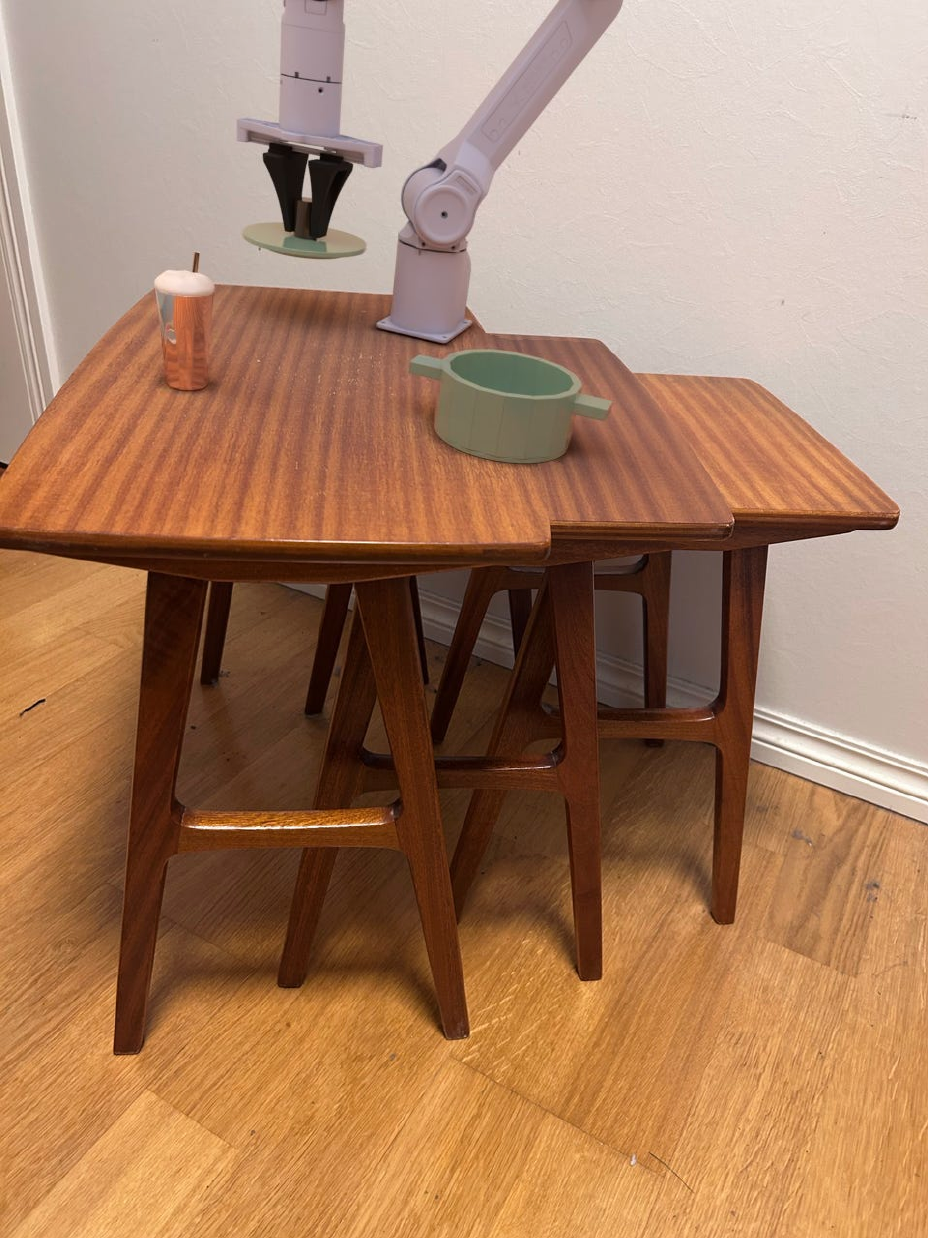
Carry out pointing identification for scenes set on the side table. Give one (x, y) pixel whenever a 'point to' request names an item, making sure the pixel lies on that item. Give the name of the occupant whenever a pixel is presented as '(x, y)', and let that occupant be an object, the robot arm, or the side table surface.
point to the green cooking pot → (506, 404)
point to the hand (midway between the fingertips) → (305, 233)
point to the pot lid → (303, 237)
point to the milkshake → (185, 325)
